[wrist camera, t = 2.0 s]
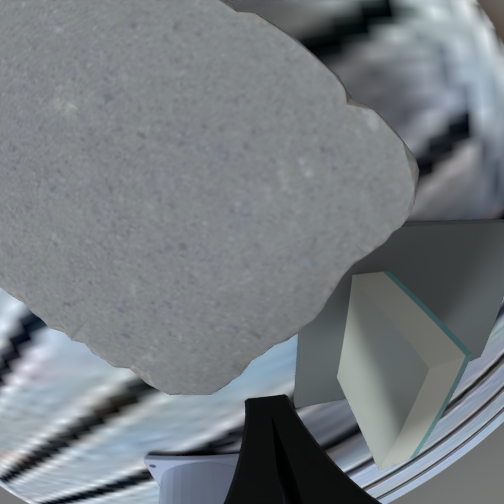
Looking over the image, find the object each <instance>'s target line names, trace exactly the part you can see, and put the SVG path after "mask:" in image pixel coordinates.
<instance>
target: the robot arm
mask: <svg viewBox="0 0 504 504" xmlns="http://www.w3.org/2000/svg"><path fill="white" fill-rule="evenodd" d="M144 463H145V465H146V466H147V468H148V469H149V471H150V472H151V474H152V476H153V477H154V479H155V480H156V482H157V483H158V485H159V486H160V494H159V504H284V503H285V504H382V503H380V502H379V501H377V500H376V499H375V498H373V497H372V496H370V495H369V494H368V493H366V492H365V491H364V490H363V489H362V488H360V487H359V486H358V485H357V484H356V483H355V482H354V481H352V480H351V479H350V478H349V477H348V476H347V475H346V474H345V473H344V472H343V471H342V470H341V469H340V468H339V467H338V466H337V465H336V464H335V463H334V462H333V461H332V459H331V458H330V457H329V456H328V455H327V454H326V453H325V451H324V450H323V449H322V448H321V447H320V445H319V444H318V443H317V442H316V440H315V439H314V438H313V436H312V435H311V434H310V432H309V431H308V429H307V428H306V427H305V425H304V424H303V422H302V421H301V419H300V418H299V416H298V414H297V413H296V411H295V409H294V408H293V406H292V404H291V402H290V400H289V398H288V396H287V395H285V394H283V395H276V396H267V397H259V398H249V399H247V400H246V401H245V425H244V433H243V439H242V444H241V449H240V454H227V455H209V456H151V455H148V456H145V457H144Z"/></svg>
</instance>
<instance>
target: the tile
mask: <svg viewBox="0 0 504 504" xmlns="http://www.w3.org/2000/svg"><path fill="white" fill-rule="evenodd" d="M471 355H472V353H471V352H470V351H469V349H468V348H467V347H466V346H465V345H464V344H463V343H462V342H461V341H460V340H459V339H458V338H457V337H456V336H455V335H454V334H453V333H452V332H451V331H450V330H449V329H448V328H447V327H446V326H445V325H444V324H443V323H442V322H441V321H440V320H439V319H438V318H437V317H436V316H435V315H434V314H433V313H432V312H431V311H430V310H429V309H428V308H427V307H426V306H425V305H424V304H423V303H422V302H421V301H420V300H419V299H418V298H417V297H416V296H415V295H414V294H413V293H412V292H411V291H410V290H409V289H408V288H407V287H405V286H404V285H403V284H402V283H401V282H400V281H399V280H398V279H397V278H396V277H395V276H394V275H393V274H391V273H390V272H389V271H384V272H375V273H366V274H357V275H353V276H352V284H351V292H350V300H349V307H348V315H347V321H346V328H345V334H344V341H343V347H342V352H341V358H340V364H339V369H338V374H337V379H338V381H339V383H340V385H341V387H342V390H343V392H344V394H345V396H346V398H347V401H348V403H349V405H350V407H351V409H352V412H353V414H354V416H355V418H356V420H357V423H358V425H359V427H360V429H361V431H362V434H363V436H364V438H365V440H366V443H367V445H368V447H369V449H370V452H371V454H372V456H373V459H374V461H375V463H376V465H377V468H378V470H381V469H384V468H387V467H389V466H392V465H395V464H398V463H401V462H403V461H406V460H409V459H411V458H414V457H416V455H417V454H418V452H419V451H420V449H421V448H422V446H423V445H424V443H425V441H426V440H427V438H428V437H429V435H430V434H431V432H432V430H433V429H434V427H435V425H436V424H437V422H438V420H439V419H440V417H441V415H442V413H443V412H444V410H445V408H446V406H447V404H448V402H449V401H450V399H451V397H452V395H453V393H454V391H455V389H456V387H457V385H458V383H459V381H460V379H461V377H462V375H463V373H464V371H465V368H466V366H467V364H468V362H469V360H470V357H471Z"/></svg>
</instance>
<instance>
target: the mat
mask: <svg viewBox="0 0 504 504" xmlns="http://www.w3.org/2000/svg"><path fill="white" fill-rule="evenodd" d="M384 271H389V272H390V273H391V274H393V275H394V276H395V277H396V278H397V279H398V280H399V281H400V282H401V283H402V284H403V285H404V286H405V287H407V288H408V289H409V290H410V291H411V292H412V293H413V294H414V295H415V296H416V297H417V298H418V299H419V300H420V301H421V302H422V303H423V304H424V305H425V306H426V307H427V308H428V309H429V310H430V311H431V312H432V313H433V314H434V315H435V316H436V317H437V318H438V319H439V320H440V321H441V322H442V323H443V324H444V325H445V326H446V327H447V328H448V329H449V330H450V331H451V332H452V333H453V334H454V335H455V336H456V337H457V338H458V339H459V340H460V341H461V342H462V343H463V344H464V345H465V346H466V347H467V348H468V349H469V351H470V352H471V353H472V355H471V357H470V360H469V361H472V360H474V359H477V358H479V357H481V354H482V352H483V350H484V348H485V345H486V343H487V340H488V338H489V335H490V333H491V330H492V328H493V325H494V323H495V320H496V317H497V314H498V312H499V309H500V306H501V303H502V300H503V297H504V219H492V220H456V221H428V222H404V224H403V225H402V226H401V227H400V228H399V229H397V230H396V231H394V232H393V233H392V235H391V236H390V237H389V238H388V239H387V240H386V242H385V243H383V244H382V245H380V246H379V247H378V248H376V249H375V250H373V251H372V252H371V253H369V254H368V255H366V256H365V257H363V258H362V259H360V260H359V261H357V262H356V263H355V264H353V265H352V266H351V267H350V268H349V269H348V271H347V272H346V273H345V274H344V275H343V276H342V277H341V279H340V281H339V283H338V285H337V286H336V288H335V290H334V291H333V293H332V294H331V295H330V297H329V298H328V300H327V302H326V304H325V306H324V308H323V309H322V310H321V312H320V313H319V314H318V315H317V316H316V317H315V319H314V320H312V321H311V322H309V323H308V324H306V325H305V326H304V327H303V328H302V330H301V331H299V332H298V346H297V361H296V375H295V388H294V404H295V407H296V408H298V407H304V406H310V405H316V404H321V403H327V402H332V401H337V400H342V399H346V396H345V394H344V392H343V390H342V387H341V385H340V383H339V381H338V379H337V374H338V369H339V364H340V358H341V352H342V347H343V341H344V334H345V328H346V321H347V315H348V307H349V300H350V292H351V284H352V276H353V275H357V274H366V273H375V272H384Z"/></svg>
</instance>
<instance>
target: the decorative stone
mask: <svg viewBox="0 0 504 504" xmlns="http://www.w3.org/2000/svg"><path fill="white" fill-rule="evenodd" d="M418 175H419V169H418V165H417V162H416V158H415V157H414V155H413V154H412V153H411V151H410V150H409V148H408V147H407V145H406V144H405V143H404V141H403V140H402V139H401V137H400V136H399V135H398V134H397V133H396V132H395V131H394V129H393V128H392V127H391V126H390V125H389V124H388V123H387V122H386V121H385V120H384V119H383V118H382V117H381V116H380V115H379V114H378V113H377V112H375V111H374V110H372V109H371V108H369V107H367V106H366V105H364V104H362V103H361V102H359V101H357V100H355V99H353V98H352V97H351V96H350V95H349V93H348V91H347V90H346V88H345V86H344V85H343V83H342V81H341V80H340V78H339V76H338V75H337V74H336V73H334V72H333V71H332V70H331V69H330V68H329V67H327V66H326V65H325V64H324V63H323V62H322V61H320V60H319V59H318V58H317V57H316V56H315V55H314V54H313V53H312V52H311V51H309V50H308V49H307V48H306V47H305V46H304V45H303V44H301V43H300V42H299V41H298V40H297V39H296V38H294V37H293V36H291V35H290V34H288V33H287V32H285V31H283V30H282V29H280V28H279V27H277V26H275V25H274V24H272V23H271V22H269V21H267V20H265V19H264V18H262V17H260V16H258V15H257V14H255V13H247V12H238V11H235V9H234V8H233V6H232V4H231V3H230V2H228V1H226V0H0V287H1V288H2V289H3V290H5V291H6V292H8V293H9V294H10V295H12V296H13V297H15V298H16V299H18V300H20V301H21V302H23V303H24V304H25V305H26V306H27V307H28V308H29V309H30V310H31V311H32V312H33V313H34V314H35V315H37V316H38V317H40V318H41V319H42V320H43V321H44V322H45V323H46V324H47V325H48V326H49V327H50V328H52V329H55V330H58V331H61V332H64V333H65V334H66V335H67V336H68V337H69V338H70V339H71V340H73V341H77V342H81V343H85V344H86V345H87V347H88V348H89V349H90V350H91V352H92V353H94V354H96V355H97V356H99V357H101V358H103V359H104V360H106V361H107V362H108V363H109V364H111V365H112V366H113V367H119V368H130V369H131V370H132V371H133V372H134V373H135V374H137V375H138V376H139V377H140V378H141V379H143V380H144V381H145V382H146V383H147V384H149V385H151V386H153V387H155V388H157V389H159V390H161V391H163V392H165V393H167V394H169V395H179V394H182V395H211V394H213V393H214V392H216V391H218V390H219V389H221V388H223V387H224V386H226V385H227V384H229V383H230V382H231V381H232V380H233V379H235V378H237V377H238V376H240V375H241V374H242V373H243V371H244V370H245V369H246V367H247V366H248V365H249V364H250V362H251V361H252V360H253V359H255V358H257V357H258V356H260V355H262V354H263V353H265V352H266V351H267V350H269V349H270V348H271V347H273V346H274V345H276V344H279V343H281V342H284V341H287V340H289V339H290V338H291V337H293V336H294V335H295V334H297V333H298V332H299V331H301V330H302V328H303V327H304V326H305V325H306V324H308V323H309V322H311V321H312V320H314V319H315V317H316V316H317V315H318V314H319V313H320V312H321V310H322V309H323V308H324V306H325V304H326V302H327V300H328V298H329V297H330V295H331V294H332V293H333V291H334V290H335V288H336V286H337V285H338V283H339V281H340V279H341V277H342V276H343V275H344V274H345V273H346V272H347V271H348V269H349V268H350V267H351V266H352V265H353V264H355V263H356V262H357V261H359V260H360V259H362V258H363V257H365V256H366V255H368V254H369V253H371V252H372V251H373V250H375V249H376V248H378V247H379V246H380V245H382V244H383V243H385V242H386V240H387V239H388V238H389V237H390V236H391V235H392V233H393V232H394V231H396V230H397V229H399V228H400V227H401V226H402V225H403V224H404V222H405V221H406V220H407V218H408V217H409V215H410V213H411V210H412V208H413V205H414V203H415V195H416V188H417V182H418Z"/></svg>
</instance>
